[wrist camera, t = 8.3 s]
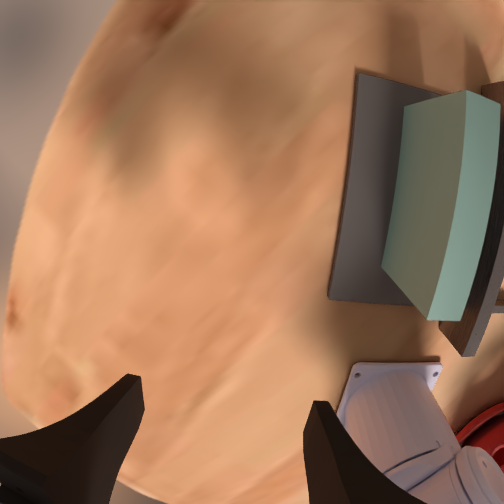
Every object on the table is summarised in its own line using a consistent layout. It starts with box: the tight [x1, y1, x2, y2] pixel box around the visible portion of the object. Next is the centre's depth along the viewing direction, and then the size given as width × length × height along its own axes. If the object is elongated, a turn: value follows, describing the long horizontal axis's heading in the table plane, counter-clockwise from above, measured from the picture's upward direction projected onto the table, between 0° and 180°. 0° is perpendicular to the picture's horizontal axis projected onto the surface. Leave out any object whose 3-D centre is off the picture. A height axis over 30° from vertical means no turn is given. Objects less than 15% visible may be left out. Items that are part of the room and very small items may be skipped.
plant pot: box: [456, 402, 504, 473], centre depth 19 cm, size 13×13×12 cm
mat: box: [327, 73, 442, 306], centre depth 18 cm, size 14×8×1 cm, turn 175°
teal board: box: [381, 90, 501, 321], centre depth 14 cm, size 2×10×7 cm, turn 175°
